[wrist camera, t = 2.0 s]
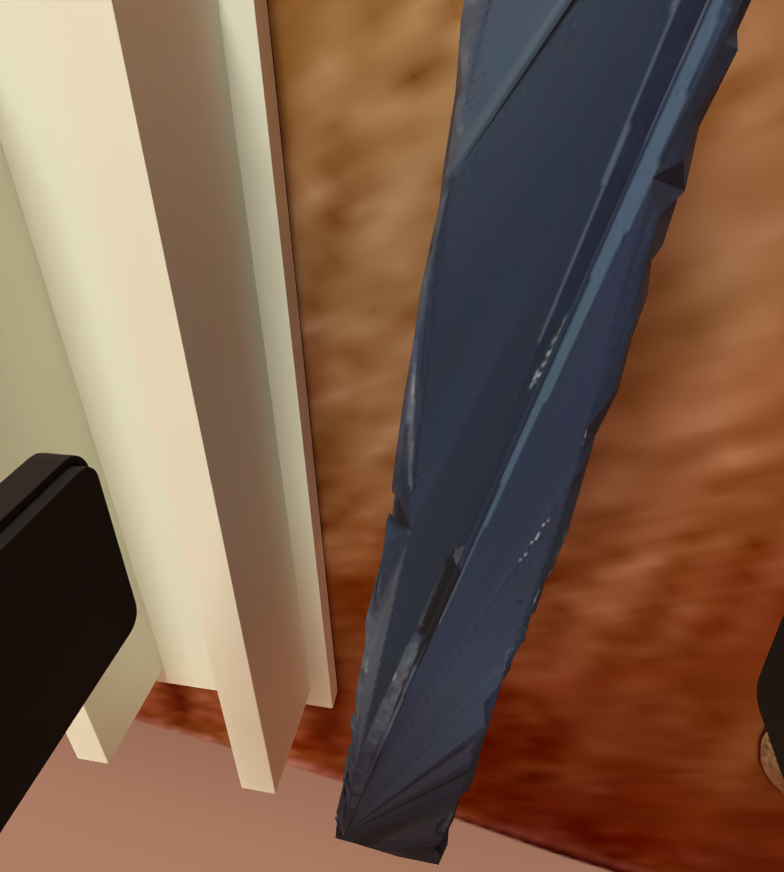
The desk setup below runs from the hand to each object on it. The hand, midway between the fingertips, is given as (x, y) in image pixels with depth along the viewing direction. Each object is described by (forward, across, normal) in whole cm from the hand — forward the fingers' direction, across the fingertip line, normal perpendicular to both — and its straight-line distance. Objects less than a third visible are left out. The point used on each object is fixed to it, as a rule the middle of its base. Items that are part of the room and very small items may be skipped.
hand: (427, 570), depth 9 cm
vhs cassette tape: (+10, -1, -1) cm, 10 cm away
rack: (+10, +9, +4) cm, 14 cm away
